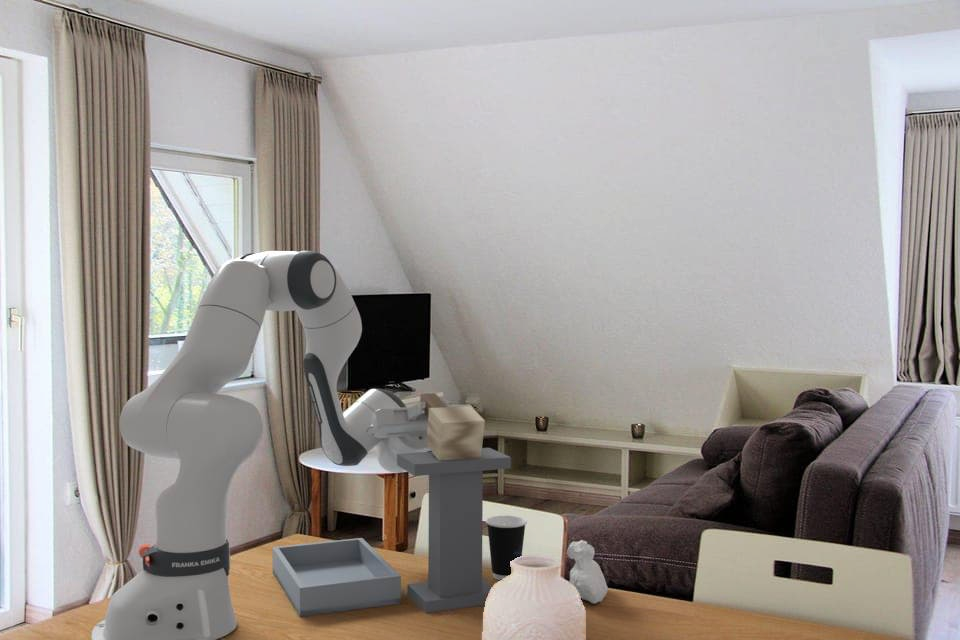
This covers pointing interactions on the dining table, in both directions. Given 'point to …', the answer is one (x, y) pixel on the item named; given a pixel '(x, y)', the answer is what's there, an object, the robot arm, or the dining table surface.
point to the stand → (453, 528)
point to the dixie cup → (505, 542)
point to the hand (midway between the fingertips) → (434, 404)
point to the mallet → (452, 429)
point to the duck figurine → (586, 572)
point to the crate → (335, 576)
